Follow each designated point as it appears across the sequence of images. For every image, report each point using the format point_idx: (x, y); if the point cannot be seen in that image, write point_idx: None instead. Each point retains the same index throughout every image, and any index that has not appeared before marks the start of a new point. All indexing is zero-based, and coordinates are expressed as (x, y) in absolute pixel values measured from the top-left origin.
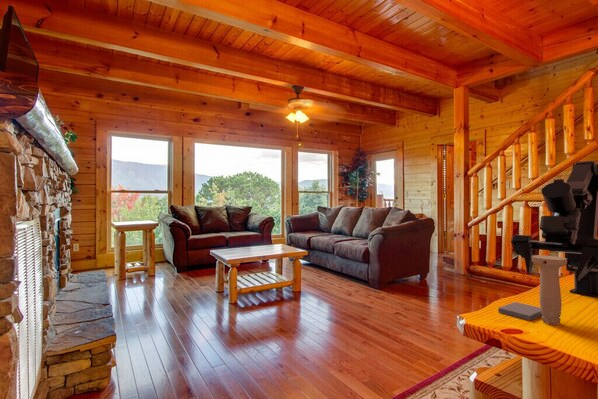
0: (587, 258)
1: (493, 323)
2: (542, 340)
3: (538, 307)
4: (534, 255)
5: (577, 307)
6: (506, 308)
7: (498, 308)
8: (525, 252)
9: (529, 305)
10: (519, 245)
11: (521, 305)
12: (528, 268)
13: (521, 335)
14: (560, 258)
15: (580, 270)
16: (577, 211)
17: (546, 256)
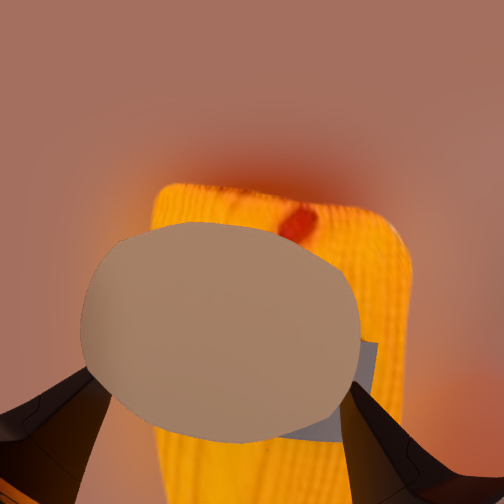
0: (7, 419)
1: (346, 248)
2: (233, 214)
3: (288, 437)
4: (351, 376)
5: None
6: (360, 355)
7: (376, 343)
8: (435, 477)
9: (315, 439)
10: (501, 480)
11: (335, 421)
12: (356, 394)
13: (273, 214)
14: (118, 320)
15: (73, 378)
16: None
17: (242, 388)
